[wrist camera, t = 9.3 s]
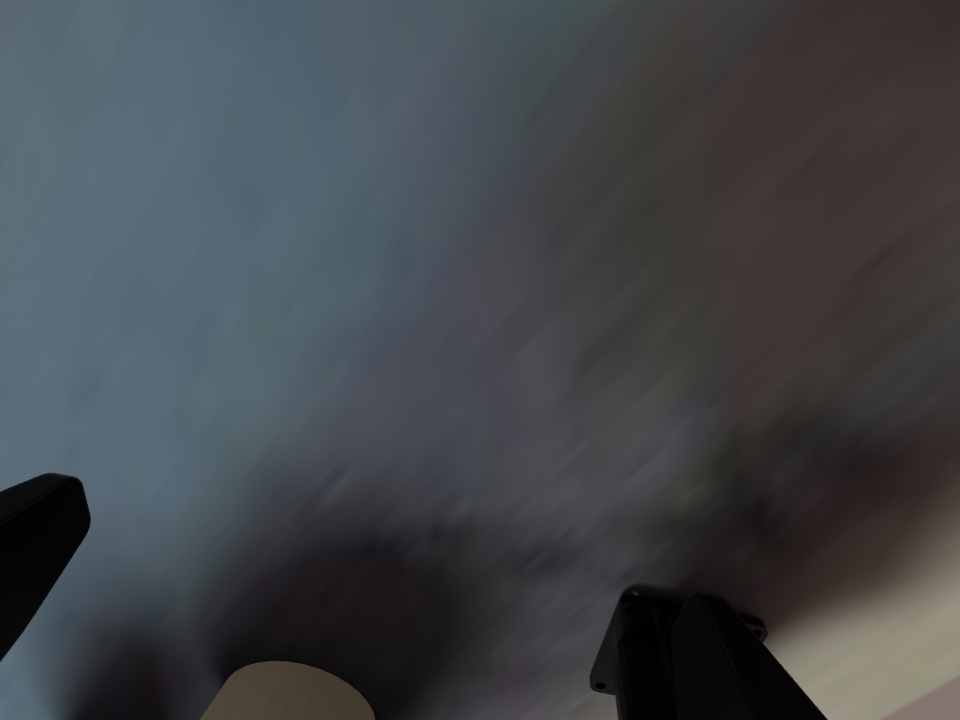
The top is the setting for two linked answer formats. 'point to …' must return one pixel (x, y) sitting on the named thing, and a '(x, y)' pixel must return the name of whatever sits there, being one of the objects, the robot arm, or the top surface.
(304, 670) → the reusable coffee cup
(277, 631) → the top surface
